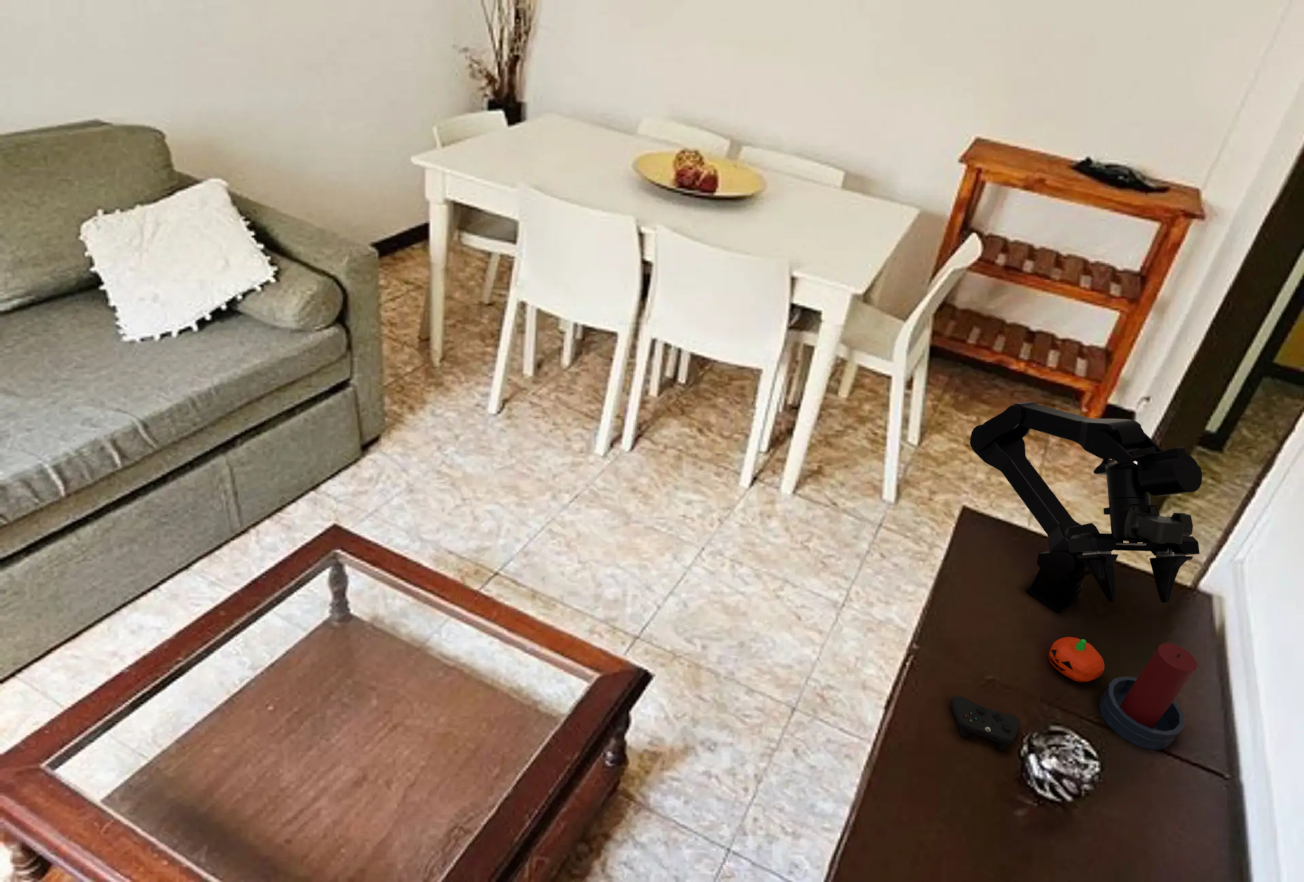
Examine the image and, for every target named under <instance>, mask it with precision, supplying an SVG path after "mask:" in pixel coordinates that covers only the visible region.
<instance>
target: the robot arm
mask: <svg viewBox="0 0 1304 882" xmlns="http://www.w3.org/2000/svg"><path fill="white" fill-rule="evenodd" d="M1031 430H1033V431H1037V432H1041V433H1043V434H1047V435H1050V436H1053V437H1054V436H1055V437H1056V438H1061V439H1064V440H1068V441H1071V442H1074V443H1075V444H1077V445H1079V446H1080V447H1081V448H1082V449H1083V451H1085V452H1087V453H1089V454H1090V455H1092V456H1095V457H1096V458H1099V459H1101V462H1100V463H1099V464H1098V465H1097V466H1096V467H1095V469H1094V470H1093V471H1092V472H1093V474H1094V475H1100V476H1101V475H1102V476H1106V486H1107V487H1106V488H1107V498H1108V507H1103V515H1105V516H1109V522H1110V533H1107V532H1105V533H1104V532H1103V533H1102V532H1100V530H1099V529H1098V527H1097V526H1096V525H1095V524H1094V523H1093V522H1088V523H1084V524H1081V523H1079V522H1077V521H1076V520H1075V519H1074V518H1073V517H1072V515H1071V514H1070V512H1069V511H1068V510H1067V508H1065V506H1064V505H1063V504H1062V502H1061V501H1060V500H1059V498H1058V497H1057V496H1056V494H1055V493H1054V492H1053V490H1052V489H1051V488H1050V487H1049V485H1048V484H1047V482H1046V481H1045V480H1044V479H1043V478H1042V476H1041V475H1040V473H1039V472H1038V470H1036V468H1035V467H1034V465H1033V464H1032V463H1031V461H1030V460H1029V459H1028V457H1027V455H1026V442H1025V440H1024V438H1025V437H1026V436H1027V435H1029V433H1030V432H1031ZM969 446H970V448H971V450H972V451H973V452H974V453H975V455H977V457H978V458H979V459H980V460H981V461H983V462H984V464H986V465H988V466H991V467H992V468H994V469H996V470H997V471H999V472H1000V473H1001V474H1002V475H1003V476H1004V478H1005V479H1006V481H1007V482H1008V483H1009V485H1010V486H1011V487H1012V489H1013V490H1014V492H1015V493H1016V494H1017V495H1018V497H1019V498H1020V499H1021V501H1022V502H1023V504H1024V505H1025V506H1026V508H1027V509H1028V510H1029V512H1030V513H1031V515H1032V516H1033V517H1034V519H1035V520H1036V522H1037V523H1038V524H1039V526H1040V527H1041V528H1042V530H1043V531H1044V533H1045V534H1046V535H1047V540H1048V541H1047V542H1048V551H1044V552H1039V553H1038V554H1037V559H1036V565H1037V566H1038V567H1039V569H1038V571H1037V573H1036V575H1035V577H1034V579H1033V581H1032V583H1031V584H1030V585H1028V586H1027V587H1026V588H1025V592H1026V593H1027V594H1029V595H1030V596H1031V597H1033V598H1034V599H1036V600H1037V601H1039V602H1040V603H1042V604H1043V605H1045V606H1046V607H1048V608H1049V609H1051V610H1053V612H1055V613H1061V612H1062V611H1063V610H1065V609H1069V608H1070V607H1071V606H1072V605H1074V604H1075V603H1076V601H1077V599H1078V597H1079V595H1080V593H1081V592H1082V590H1083V588H1084V585H1083V584H1082V583H1083V581H1084V579H1085V577H1086V576H1090V575H1091V576H1092V577H1093V578H1094V579H1095V581H1096V583H1097V585H1098V587H1099V588H1100V590H1101V591H1102V593H1103V595H1104V597H1105V598H1106V600H1107V602H1109V603H1114V602H1116V594H1117V593H1116V591H1117V590H1116V580H1115V568H1114V567H1115V564H1116V562H1117V559H1118V557H1119V553H1112V552H1113V551H1119V552H1121V551H1122V552H1123V551H1125V552H1126V551H1127V552H1150V553H1151V554H1152V555H1153V556H1154V557H1149V563H1150V567H1151V570H1152V574H1153V579H1154V583H1155V586H1156V587H1155V588H1156V590H1157V594H1158V597H1159V599H1160V602H1161V603H1162V604H1163V603H1165V604H1166V603H1169V602H1170V599H1171V595H1172V592H1173V589H1174V584H1175V581H1176V578H1177V575H1178V573H1179V571H1180V569H1181V567H1182V566H1183V565H1185V563H1187V561H1192V559H1193V558H1194V555H1201V554H1200V544H1199V541H1198V540H1197V539H1196V538H1195V536H1193V530H1194V523H1193V518H1192V515H1191V514H1188V513H1186V512H1173V513H1172V515H1171V516H1164V515H1161V514H1160V508H1159V507H1158V504H1151V496H1153V497H1166V496H1174V495H1182V494H1189V493H1190V494H1191V493H1196V492H1197V491H1198V490H1199V489H1200V488H1201V485H1202V483H1203V471H1202V468H1201V466H1200V465H1199V464H1198V462H1197V461H1196V460H1195V458H1194V457H1193V456H1191V455H1190V454H1188V452H1187V449H1186V448H1187V447H1185V446H1179V447H1173V448H1168V449H1166V450H1164V449H1163V448H1162V447H1161V446H1160V445H1158V443H1156V442H1155V441H1154V439H1152V438H1151V437H1150V436H1148V435H1147V433H1146V432H1145V431H1144V429H1143V428H1142V424H1141V423H1139V422H1138V421H1137V420H1134V419H1130V418H1129V419H1128V418H1127V419H1126V418H1094V417H1093V418H1092V417H1087V416H1084V415H1079V414H1076V413H1072V412H1068V411H1064V410H1061V409H1058V408H1057V409H1056V408H1053V407H1049V406H1044V405H1041V404H1039V403H1036V402H1034V401H1023V402H1016V403H1013V404H1011V405H1010V406H1008V407H1007V408H1006V409H1004V410H1003V411H1002V412H1001V413H999V414H997V415H994V416H993V417H992V418H990V419H988V420H986V421H984V423H982V424H978V425H976V426H975V427H973V429H972V430H971V433H970V438H969ZM1150 495H1151V496H1150Z"/></svg>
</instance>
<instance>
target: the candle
mask: <svg viewBox="0 0 1304 882" xmlns="http://www.w3.org/2000/svg"><path fill="white" fill-rule="evenodd" d="M1197 668H1198V662H1197V660H1196V658H1195V657H1194V656H1193V655H1192V654H1191V653H1190V652H1189V651H1188V650H1186V649H1185V648H1183V647H1181V646H1179V645H1177V644H1173V643H1167V642H1166V643H1162V644H1161V643H1160V644H1159V646H1158V648H1156V650H1155V651H1154V653H1153V655H1152V656H1151V658H1150V659H1149V661H1148V662H1147V663H1146V665H1145V666H1144V668H1143V670H1142V671H1141V672H1140V674H1139V676H1138V677H1137V678H1138V679H1137V680H1136V682H1135V683H1134V685H1133V686H1132V688H1131V689H1130V691H1129V692H1128V694H1127V695H1126V697H1125V698H1124V700H1123V701H1122V703H1121V704H1120V706H1119V707H1120V708H1121V709H1122V710H1123V711H1124V712H1125V713H1126V714H1127V715H1128V716H1129V717H1131V718H1132V719H1133V720H1135V721H1136V722H1138V723H1139V724H1142V725H1144V726H1146V727H1148V728H1151V729H1154V727H1155V726H1156V725H1157V723H1158V722H1159V720H1160V719H1161V718H1162V716H1163V715H1164V713H1165V712H1166V711H1167V709H1168V708H1169V706H1170V705H1171V704H1172V702H1173V701H1175V699H1176V698H1177V697H1178V695H1179V694H1180V693H1181V691H1182V690H1183V688H1184V687H1185V685H1186V684H1187V682H1188V681H1189V680H1190V678H1191V677H1192V675H1194V673H1195V671H1196V670H1197Z"/></svg>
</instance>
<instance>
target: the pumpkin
mask: <svg viewBox="0 0 1304 882" xmlns="http://www.w3.org/2000/svg"><path fill="white" fill-rule="evenodd" d="M1048 660H1049V663H1050V664H1051V665H1052V666H1053V668H1054V669H1055V670H1057V672H1059V673H1060V674H1061V675H1063V676H1065V677H1067V678H1068V679H1070V680H1072V681H1074V682H1078V683H1087V682H1090V681H1094V680H1096V679H1098V678H1100V677H1101V676H1102V674H1103V673H1104V671H1105V660H1104V658H1103V657H1102V656H1101V654H1100V653H1099V652H1098V651H1097V649H1096V648H1095V647H1094V646H1093V645H1092V644H1091V643H1089V642H1087V640H1086V639H1085V638H1084V639H1083V638H1082V639H1080V638H1078V637H1073V636H1065V637H1061V638H1059V639H1056V640H1055V641H1054V642H1053V643H1052V645H1051V646H1050V649H1049V652H1048Z"/></svg>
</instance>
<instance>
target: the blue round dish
mask: <svg viewBox="0 0 1304 882" xmlns="http://www.w3.org/2000/svg"><path fill="white" fill-rule="evenodd" d="M1137 679H1138V677H1134V676H1133V677H1132V676H1127V675H1126V676H1125V675H1124V676H1119V677H1114V679H1113V680H1111V682H1110V683H1109V684H1108V685H1107V686H1106V688H1105V690H1104V691H1103V693H1102V694H1101V697H1100V699H1099V701H1098V702H1099V704H1098V708H1099V713H1100V715H1101V717H1102V719H1103V721H1104V722H1105V723H1106V725H1108V727H1109V728H1110V729H1111V730H1112V731H1113V732H1114V733H1116V735H1118V736H1119V737H1120V738H1122V739H1123V740H1125V741H1127V742H1128V743H1130V744H1133V745H1134V746H1137V747H1139V748H1143V749H1146V750H1152V751H1159V750H1160V751H1161V750H1165V749H1167V748H1168V747H1170V746H1171V745H1172V743H1173V742H1174V741H1175V740H1176V738H1177V737H1178V736H1179V734H1180V733H1181V732H1182V731H1183V729H1184V728H1185V715H1184V714H1183V711H1182V709H1181V708H1180V705H1179V704H1178V703H1177V702H1176V701H1175V700H1174V701H1173V702H1172V704H1171V705H1170V706H1169V708H1168V709H1167V711H1166V712H1165V713H1164V715H1163V716H1162V718H1161V719H1160V720H1159V722H1158V723H1157V725H1156V726H1155V727H1154V729H1151V728H1148V727H1146V726H1144V725H1142V724H1139V723H1138V722H1136V721H1135V720H1133V719H1132V718H1131V717H1129V716H1128V715H1127V714H1126V713H1125V712H1124V711H1123V710H1122V709H1121V708H1120V707H1119V706H1120V704H1121V703H1122V701H1123V700H1124V698H1125V697H1126V695H1127V694H1128V692H1129V691H1130V689H1131V688H1132V686H1133V685H1134V683H1135V682H1136V680H1137Z"/></svg>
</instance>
